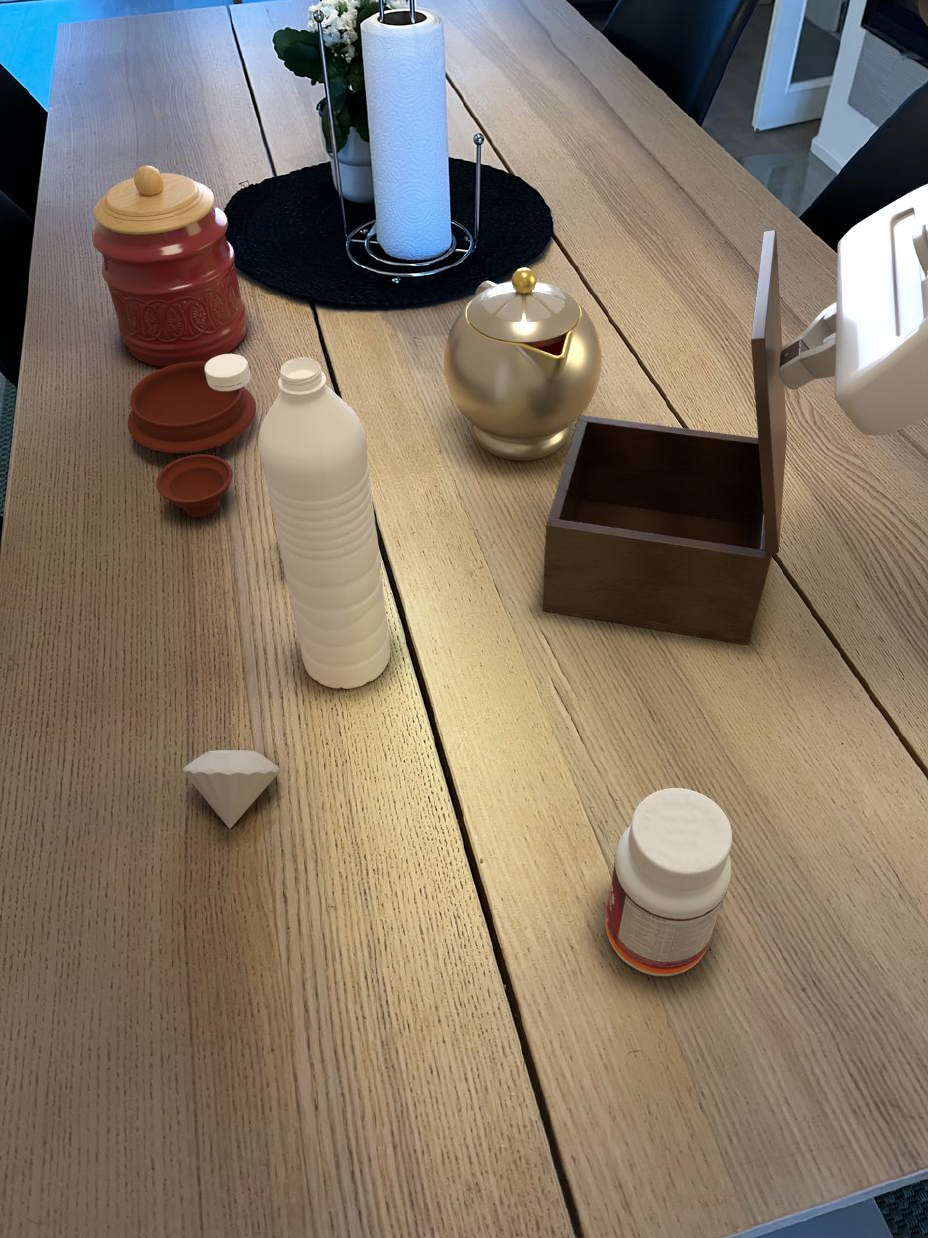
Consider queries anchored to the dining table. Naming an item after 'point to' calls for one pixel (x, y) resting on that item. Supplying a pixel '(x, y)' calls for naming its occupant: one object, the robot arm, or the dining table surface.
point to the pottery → (189, 431)
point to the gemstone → (231, 780)
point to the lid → (769, 389)
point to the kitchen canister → (169, 269)
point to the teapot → (522, 365)
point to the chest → (658, 530)
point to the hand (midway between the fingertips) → (784, 370)
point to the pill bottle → (669, 882)
